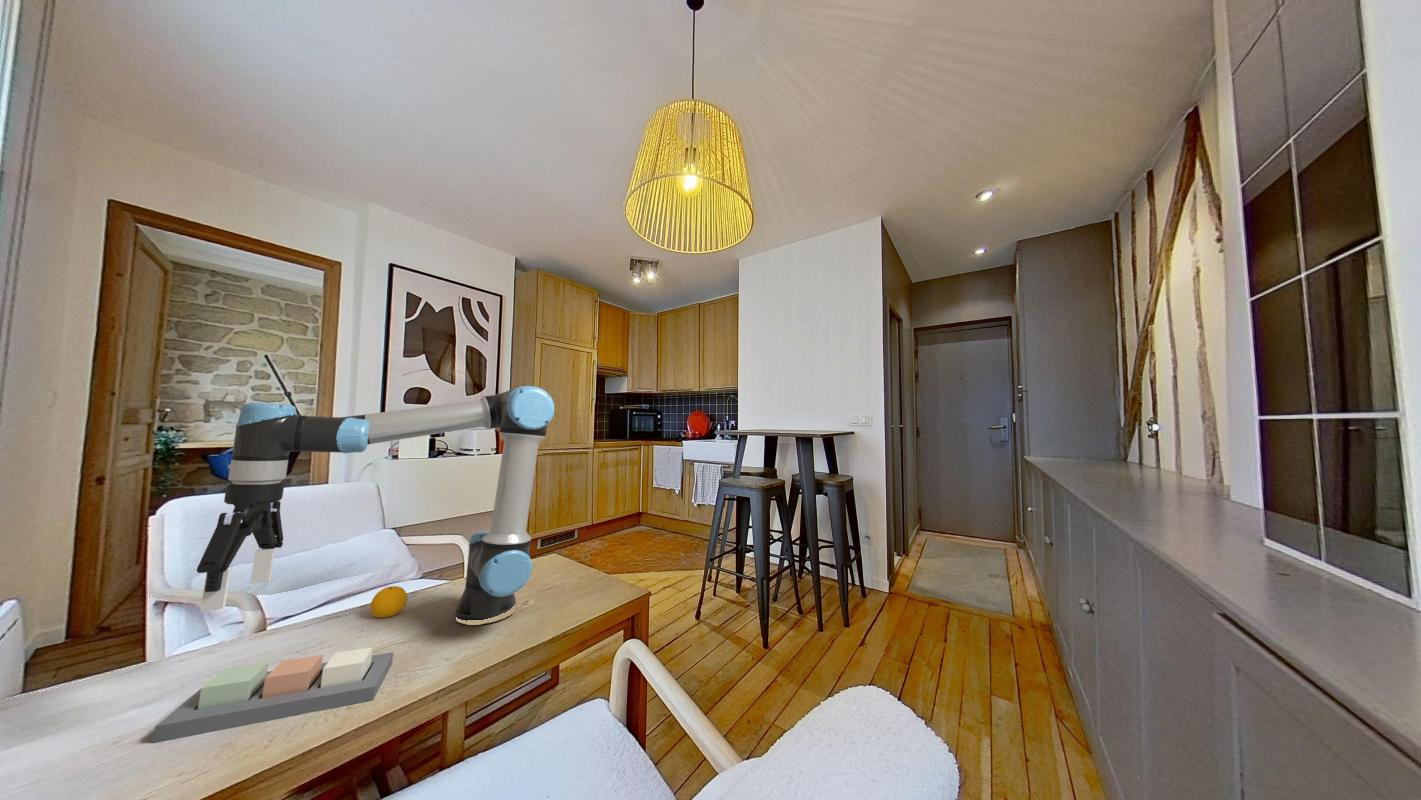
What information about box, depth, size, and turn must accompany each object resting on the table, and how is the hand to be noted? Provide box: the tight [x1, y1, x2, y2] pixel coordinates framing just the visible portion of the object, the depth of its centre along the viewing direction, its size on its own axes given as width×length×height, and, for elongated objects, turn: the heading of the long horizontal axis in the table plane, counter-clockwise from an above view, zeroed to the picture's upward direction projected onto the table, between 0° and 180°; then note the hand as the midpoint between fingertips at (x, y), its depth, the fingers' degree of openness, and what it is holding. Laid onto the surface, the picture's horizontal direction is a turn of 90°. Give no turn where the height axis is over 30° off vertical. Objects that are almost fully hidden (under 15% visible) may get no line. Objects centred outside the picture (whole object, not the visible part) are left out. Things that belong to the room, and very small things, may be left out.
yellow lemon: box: [370, 585, 408, 619], centre depth 111 cm, size 8×8×8 cm
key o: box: [198, 662, 269, 709], centre depth 73 cm, size 6×6×4 cm
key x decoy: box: [262, 654, 324, 698], centre depth 76 cm, size 6×6×4 cm
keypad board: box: [152, 652, 394, 744], centre depth 76 cm, size 28×13×2 cm, turn 116°
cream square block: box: [321, 647, 374, 688], centre depth 80 cm, size 6×6×4 cm
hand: (238, 594), depth 76 cm, fingers open, 13 cm apart
